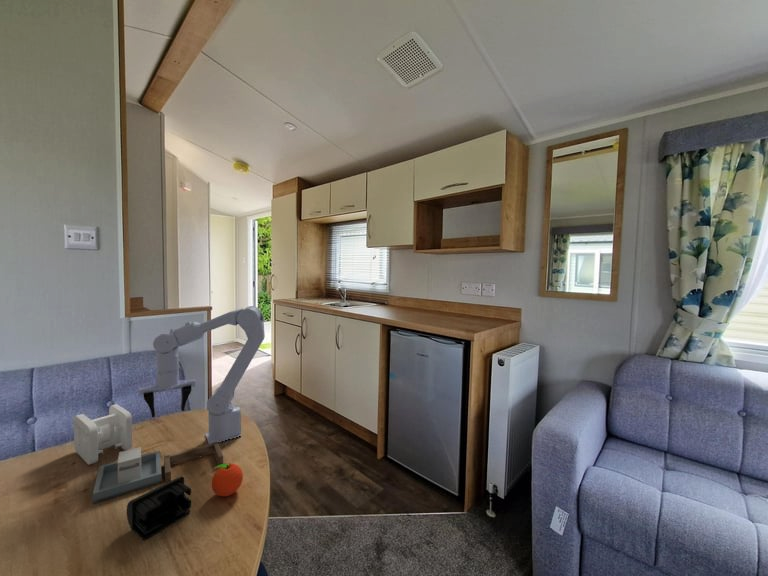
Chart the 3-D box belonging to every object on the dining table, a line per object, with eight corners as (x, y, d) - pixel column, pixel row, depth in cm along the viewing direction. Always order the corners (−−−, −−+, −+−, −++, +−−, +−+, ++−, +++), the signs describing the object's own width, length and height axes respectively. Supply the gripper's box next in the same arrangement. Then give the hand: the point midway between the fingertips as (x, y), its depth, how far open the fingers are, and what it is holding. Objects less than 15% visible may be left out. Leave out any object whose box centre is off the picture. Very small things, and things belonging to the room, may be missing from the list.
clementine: (200, 500, 75) (200, 471, 74) (220, 481, 81) (220, 454, 81) (230, 505, 73) (230, 475, 73) (248, 485, 80) (248, 458, 80)
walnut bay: (217, 449, 96) (217, 441, 96) (223, 464, 89) (223, 455, 89) (164, 464, 88) (163, 456, 88) (165, 482, 81) (165, 473, 81)
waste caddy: (141, 468, 85) (141, 446, 85) (140, 482, 80) (140, 459, 79) (119, 474, 83) (119, 452, 82) (117, 489, 77) (117, 465, 77)
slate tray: (160, 458, 91) (159, 450, 91) (161, 482, 81) (161, 473, 80) (99, 475, 83) (99, 466, 83) (92, 504, 73) (92, 493, 73)
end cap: (177, 499, 75) (177, 472, 75) (193, 512, 71) (193, 482, 71) (126, 527, 66) (125, 496, 66) (141, 543, 63) (140, 510, 62)
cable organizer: (134, 452, 94) (134, 414, 94) (87, 470, 85) (86, 428, 85) (116, 437, 102) (115, 402, 102) (71, 452, 93) (70, 414, 93)
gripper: (138, 378, 92) (139, 423, 92) (196, 369, 100) (196, 411, 101) (139, 371, 97) (139, 415, 98) (193, 364, 106) (193, 404, 106)
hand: (168, 412), depth 100 cm, fingers open, 7 cm apart
